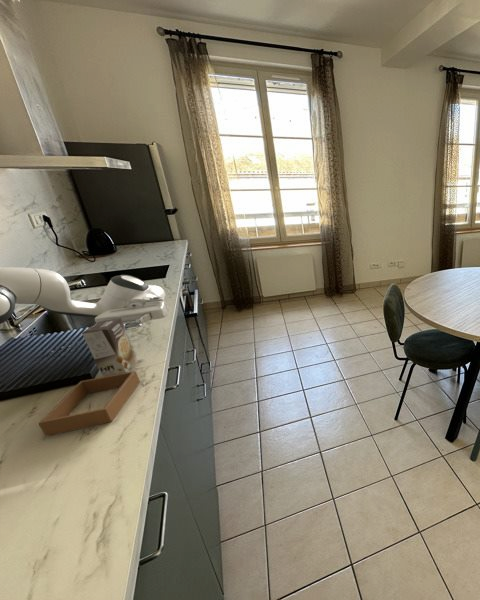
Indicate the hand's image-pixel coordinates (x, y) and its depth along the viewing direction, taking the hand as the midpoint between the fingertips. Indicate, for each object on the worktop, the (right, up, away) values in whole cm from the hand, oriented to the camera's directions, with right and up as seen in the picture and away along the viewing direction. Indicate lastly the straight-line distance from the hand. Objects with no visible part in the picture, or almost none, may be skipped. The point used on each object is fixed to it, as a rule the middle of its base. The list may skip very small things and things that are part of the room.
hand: (122, 324), depth 109 cm
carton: (+11, -21, -20) cm, 31 cm away
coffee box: (+3, -14, -4) cm, 15 cm away
